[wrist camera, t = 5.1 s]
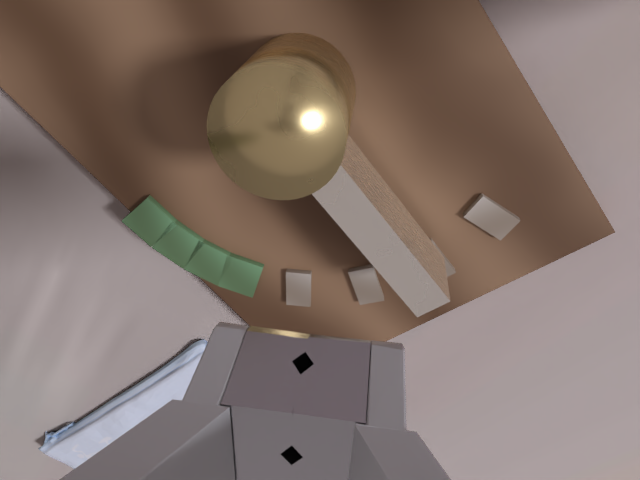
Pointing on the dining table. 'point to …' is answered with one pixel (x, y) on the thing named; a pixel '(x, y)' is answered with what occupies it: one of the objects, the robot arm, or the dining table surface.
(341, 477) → the robot arm
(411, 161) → the dial board
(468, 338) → the dining table surface
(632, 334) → the dining table surface
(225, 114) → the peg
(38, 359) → the dining table surface
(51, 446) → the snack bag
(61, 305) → the dining table surface
